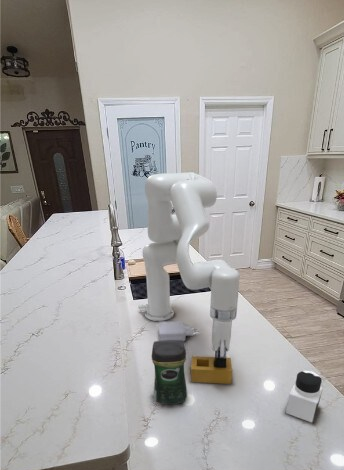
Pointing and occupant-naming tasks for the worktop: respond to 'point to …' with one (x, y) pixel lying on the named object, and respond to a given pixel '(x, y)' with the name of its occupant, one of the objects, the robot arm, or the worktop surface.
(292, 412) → the medicine bottle
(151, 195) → the robot arm
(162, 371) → the coffee jar
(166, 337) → the charger
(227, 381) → the ochre block
